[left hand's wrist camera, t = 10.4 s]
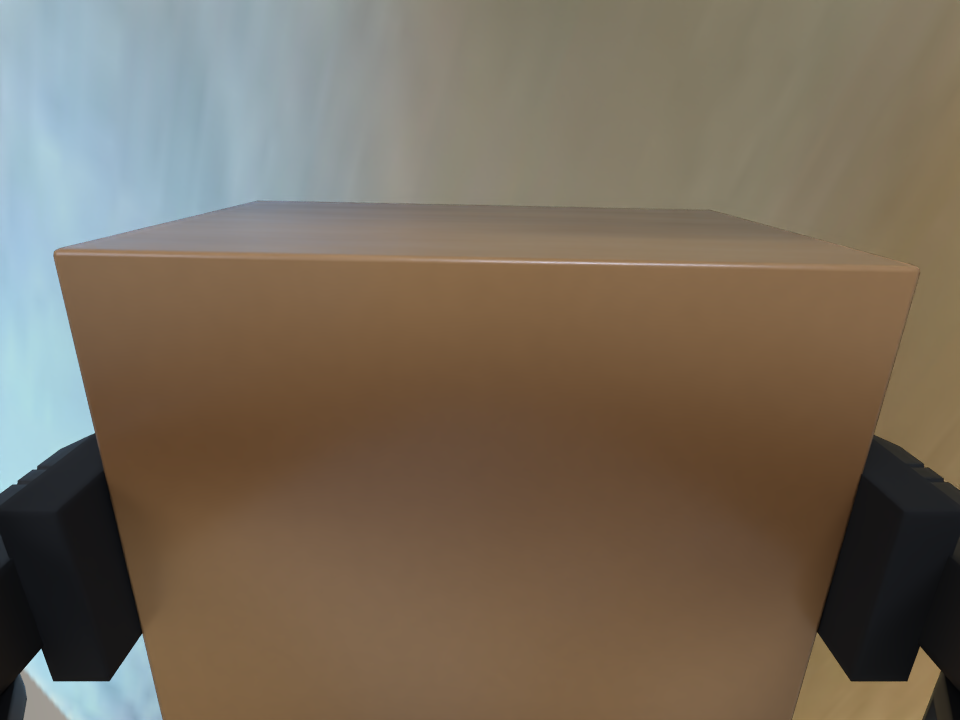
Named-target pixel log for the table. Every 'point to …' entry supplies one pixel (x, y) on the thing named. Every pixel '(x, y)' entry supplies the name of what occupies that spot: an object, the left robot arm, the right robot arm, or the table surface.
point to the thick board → (480, 454)
